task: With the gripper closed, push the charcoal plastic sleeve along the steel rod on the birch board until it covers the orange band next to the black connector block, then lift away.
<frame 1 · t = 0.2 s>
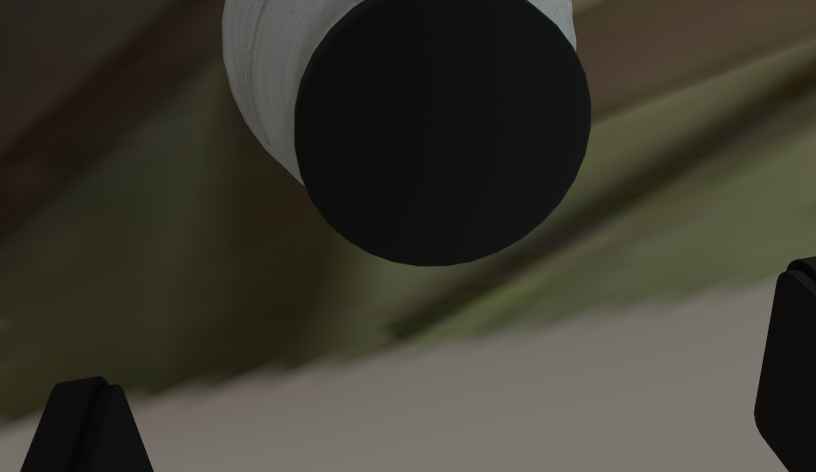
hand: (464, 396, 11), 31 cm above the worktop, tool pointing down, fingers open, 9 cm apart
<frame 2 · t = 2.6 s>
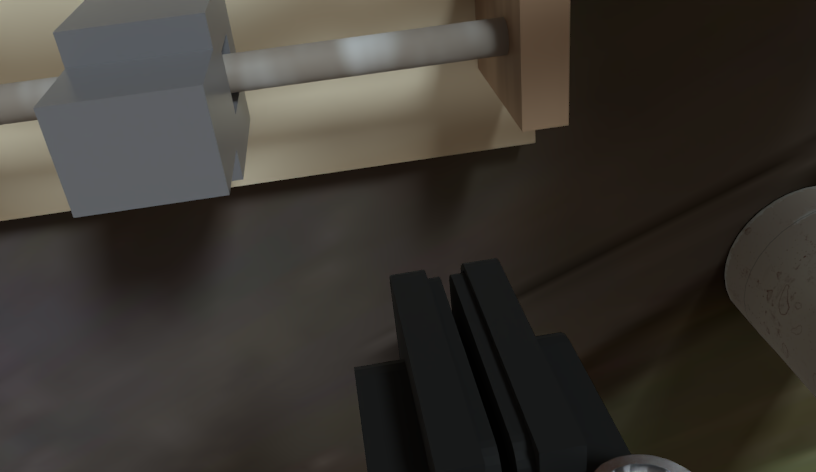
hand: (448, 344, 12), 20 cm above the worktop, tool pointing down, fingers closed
thermos bottle: (797, 253, 38), on the worktop
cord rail: (80, 45, 28), on the worktop
sleeve: (159, 98, 22), point 7 cm above the worktop, slide at 0.0 cm
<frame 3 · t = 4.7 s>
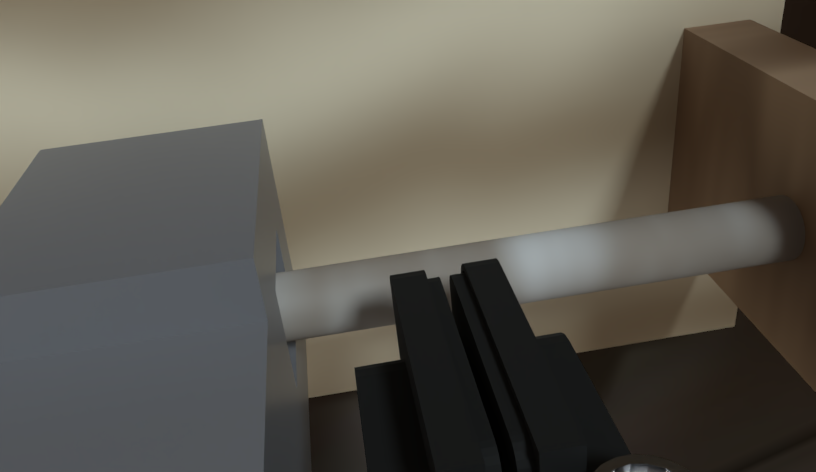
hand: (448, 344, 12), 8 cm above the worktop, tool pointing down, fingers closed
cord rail: (43, 199, 18), on the worktop
sleeve: (156, 382, 12), point 8 cm above the worktop, slide at 0.3 cm, touching gripper
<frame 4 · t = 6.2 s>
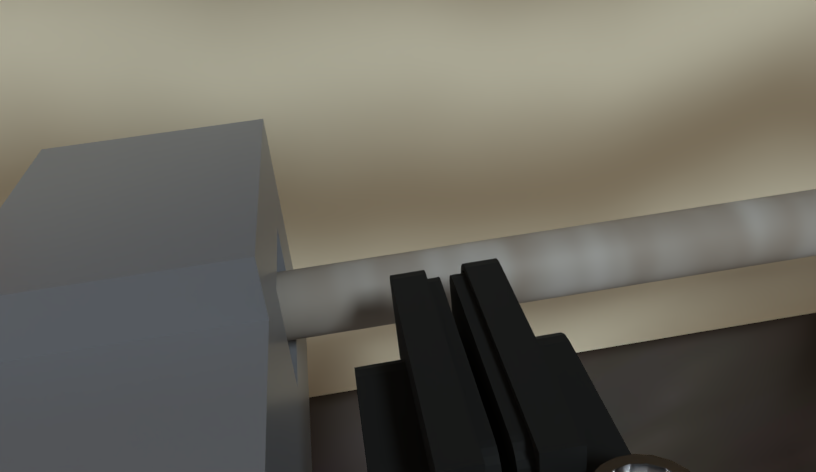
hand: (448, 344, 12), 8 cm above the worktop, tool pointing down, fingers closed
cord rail: (393, 149, 18), on the worktop
sleeve: (157, 381, 12), point 7 cm above the worktop, slide at 8.6 cm, touching gripper
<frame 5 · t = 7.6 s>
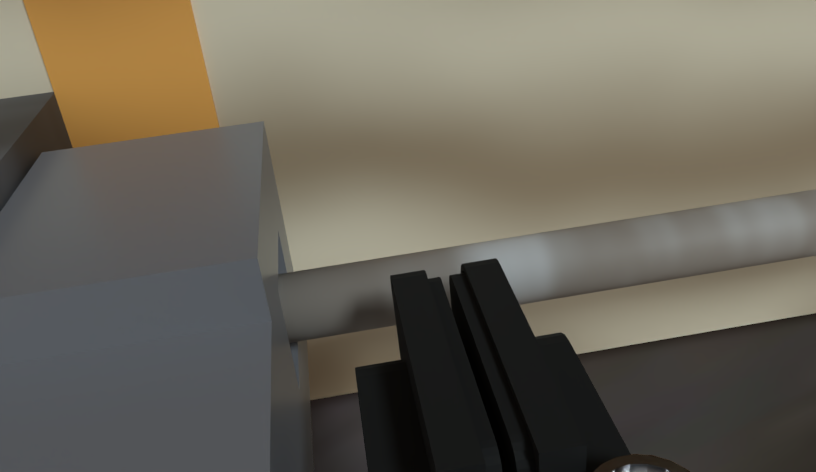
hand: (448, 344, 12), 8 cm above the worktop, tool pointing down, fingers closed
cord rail: (601, 121, 19), on the worktop
sleeve: (159, 383, 12), point 8 cm above the worktop, slide at 13.9 cm, touching gripper
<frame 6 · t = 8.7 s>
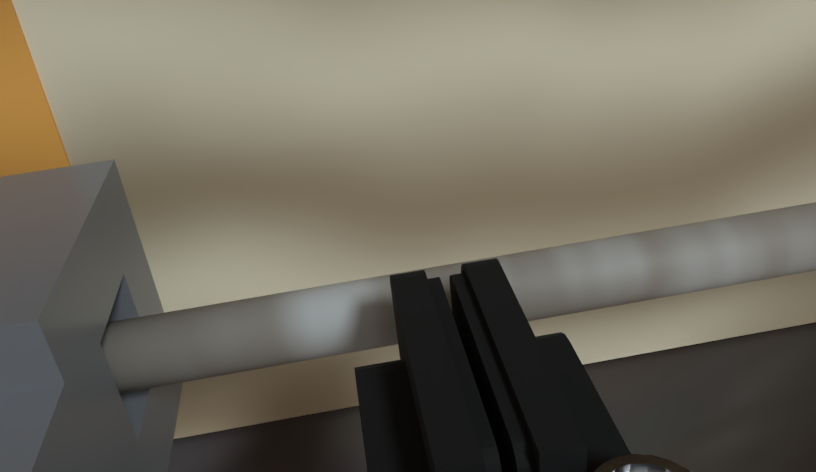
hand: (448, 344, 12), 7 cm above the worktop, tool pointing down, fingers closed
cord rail: (485, 148, 18), on the worktop
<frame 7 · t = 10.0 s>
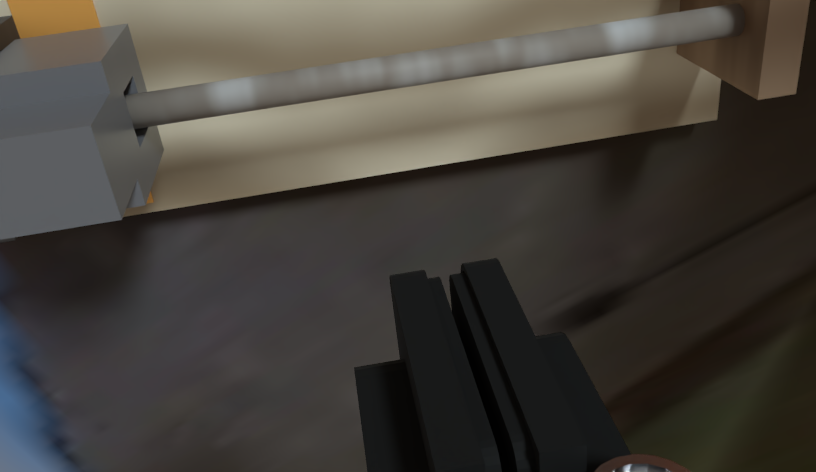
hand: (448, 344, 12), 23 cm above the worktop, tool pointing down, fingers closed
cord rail: (336, 37, 32), on the worktop
sleeve: (68, 135, 25), point 8 cm above the worktop, slide at 13.5 cm
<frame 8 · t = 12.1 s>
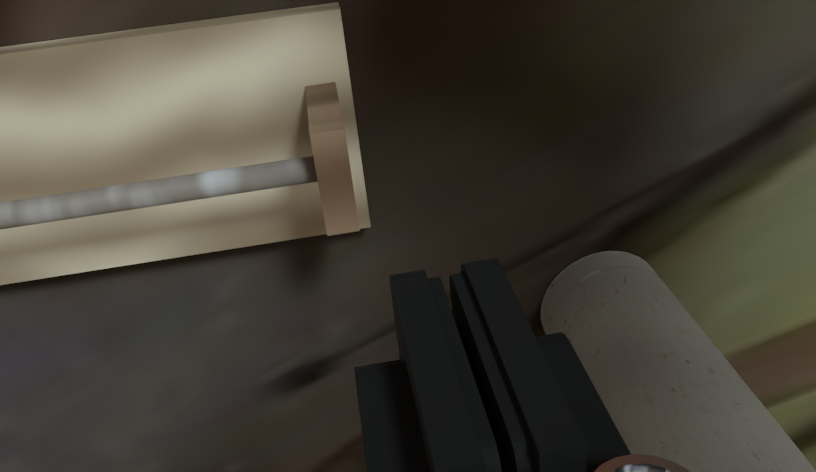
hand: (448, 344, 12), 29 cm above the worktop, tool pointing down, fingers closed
thermos bottle: (598, 301, 49), on the worktop
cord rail: (28, 163, 39), on the worktop
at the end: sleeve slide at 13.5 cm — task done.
